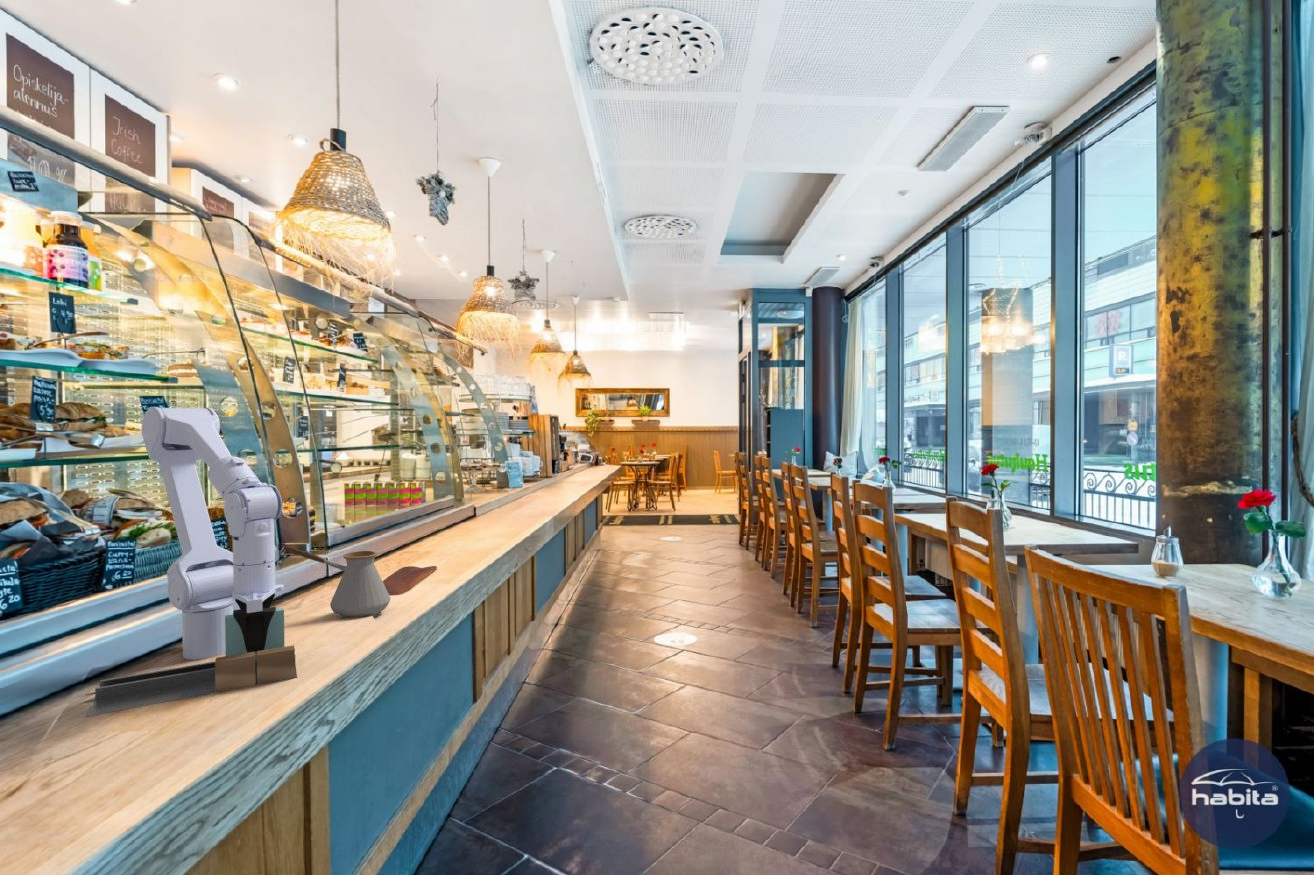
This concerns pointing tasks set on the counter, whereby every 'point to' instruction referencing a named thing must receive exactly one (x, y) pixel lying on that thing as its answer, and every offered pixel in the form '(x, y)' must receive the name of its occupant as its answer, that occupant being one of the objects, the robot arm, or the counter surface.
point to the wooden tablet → (406, 579)
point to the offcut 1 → (235, 671)
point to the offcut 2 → (275, 664)
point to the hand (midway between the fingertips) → (255, 645)
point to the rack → (156, 688)
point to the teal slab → (236, 639)
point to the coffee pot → (355, 584)
